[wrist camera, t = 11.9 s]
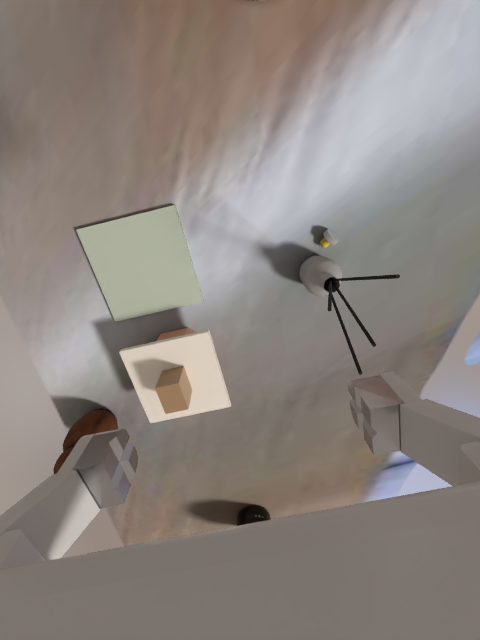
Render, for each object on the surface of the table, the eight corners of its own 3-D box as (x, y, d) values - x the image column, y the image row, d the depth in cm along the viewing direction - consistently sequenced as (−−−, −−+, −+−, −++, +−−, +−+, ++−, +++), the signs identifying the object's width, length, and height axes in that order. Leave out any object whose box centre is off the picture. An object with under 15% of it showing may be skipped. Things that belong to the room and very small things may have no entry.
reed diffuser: (322, 303, 42) (395, 383, 23) (276, 296, 41) (313, 371, 23) (344, 231, 38) (450, 257, 20) (293, 222, 38) (354, 239, 19)
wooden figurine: (114, 399, 47) (65, 481, 33) (128, 426, 49) (88, 514, 35) (76, 409, 48) (12, 494, 34) (92, 435, 50) (38, 525, 36)
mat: (78, 229, 37) (75, 229, 37) (175, 204, 36) (174, 204, 36) (116, 320, 42) (115, 321, 41) (203, 300, 41) (202, 301, 41)
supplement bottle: (265, 529, 60) (272, 603, 49) (233, 524, 59) (233, 598, 48) (274, 506, 58) (285, 579, 47) (241, 501, 57) (244, 574, 46)
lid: (121, 349, 38) (106, 368, 34) (209, 329, 37) (205, 346, 33) (151, 419, 43) (142, 444, 38) (230, 403, 42) (230, 426, 37)
